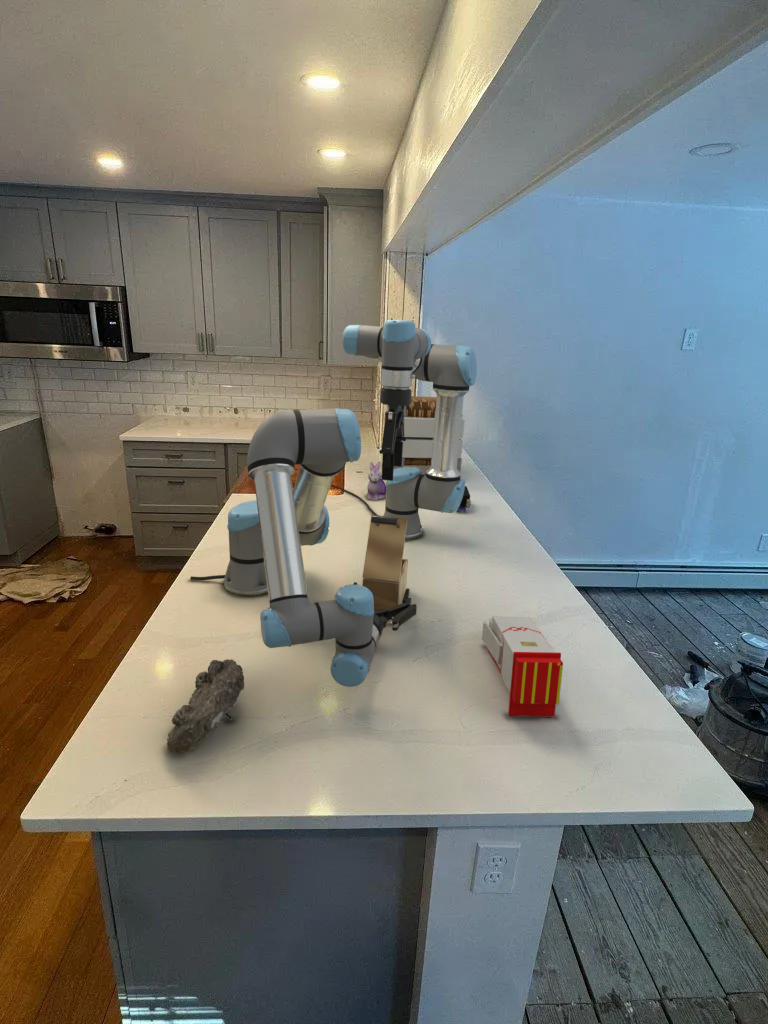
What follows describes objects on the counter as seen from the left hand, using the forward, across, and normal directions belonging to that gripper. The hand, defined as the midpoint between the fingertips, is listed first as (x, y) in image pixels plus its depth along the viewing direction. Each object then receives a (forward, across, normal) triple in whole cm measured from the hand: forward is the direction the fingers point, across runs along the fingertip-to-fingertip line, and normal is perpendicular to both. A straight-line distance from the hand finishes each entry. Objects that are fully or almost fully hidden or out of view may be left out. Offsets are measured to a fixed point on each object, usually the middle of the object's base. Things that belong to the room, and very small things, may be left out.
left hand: (381, 590), depth 146 cm
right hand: (+8, 0, +29) cm, 30 cm away
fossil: (-47, -24, -6) cm, 53 cm away
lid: (+4, 0, +10) cm, 11 cm away
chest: (+7, 0, -6) cm, 9 cm away
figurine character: (+90, +16, -6) cm, 92 cm away
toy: (-19, +34, -6) cm, 39 cm away
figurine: (+93, -19, -6) cm, 95 cm away
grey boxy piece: (+136, -6, -7) cm, 136 cm away
